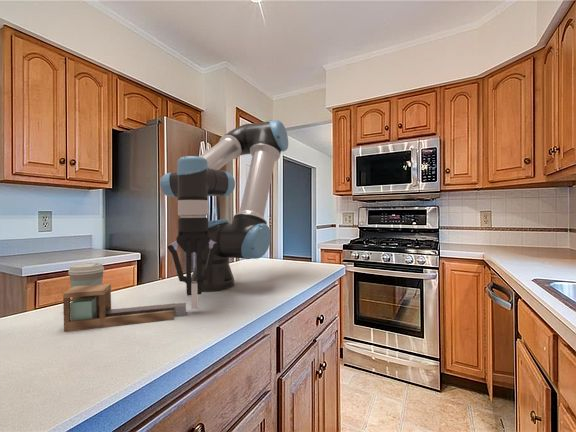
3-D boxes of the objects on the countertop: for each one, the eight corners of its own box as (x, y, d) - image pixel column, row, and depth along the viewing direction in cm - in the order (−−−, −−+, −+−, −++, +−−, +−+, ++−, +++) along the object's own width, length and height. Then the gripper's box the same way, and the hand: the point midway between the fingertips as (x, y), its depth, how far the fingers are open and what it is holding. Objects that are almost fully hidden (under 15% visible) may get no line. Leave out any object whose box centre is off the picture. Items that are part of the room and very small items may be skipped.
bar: (185, 313, 83) (185, 302, 83) (185, 317, 80) (185, 306, 80) (103, 321, 77) (103, 310, 77) (100, 325, 74) (100, 314, 74)
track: (174, 310, 84) (174, 279, 83) (174, 319, 77) (173, 284, 77) (74, 321, 76) (73, 286, 76) (63, 331, 70) (63, 293, 70)
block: (96, 320, 77) (96, 296, 76) (92, 326, 73) (91, 301, 72) (76, 323, 75) (76, 298, 75) (70, 329, 71) (70, 302, 71)
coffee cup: (87, 313, 82) (86, 268, 82) (60, 312, 84) (59, 267, 83) (112, 304, 90) (111, 262, 90) (87, 302, 92) (86, 261, 92)
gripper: (217, 216, 87) (218, 300, 87) (166, 217, 83) (168, 305, 83) (220, 216, 80) (221, 308, 80) (165, 217, 76) (167, 314, 76)
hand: (194, 307), depth 82 cm, fingers closed
